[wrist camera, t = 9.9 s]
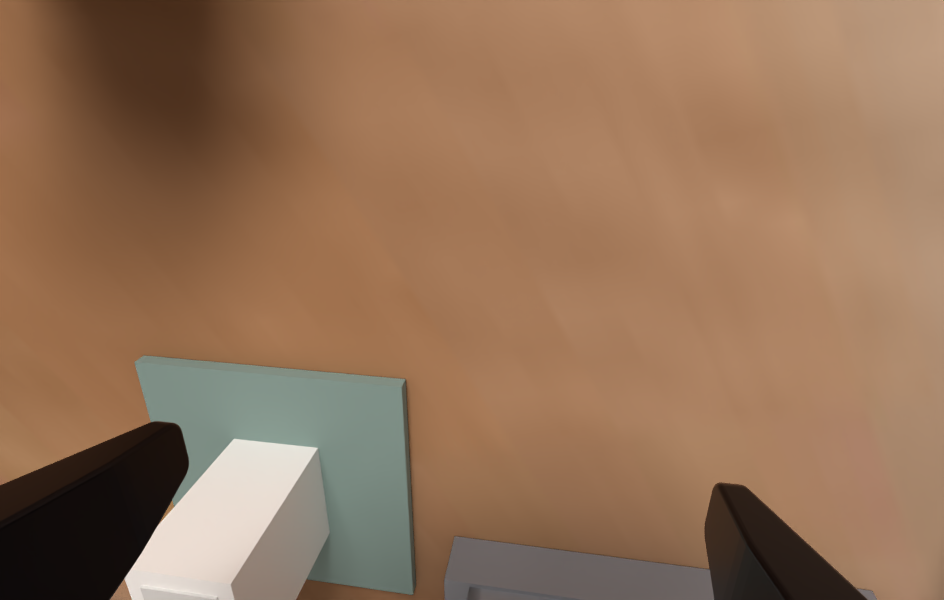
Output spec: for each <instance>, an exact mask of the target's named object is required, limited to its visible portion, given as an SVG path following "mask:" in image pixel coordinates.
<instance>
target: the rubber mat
mask: <svg viewBox="0 0 944 600" xmlns="http://www.w3.org/2000/svg"><path fill="white" fill-rule="evenodd" d="M135 366H136V370H137V373H138V377H139V380H140V384H141V388H142V391H143V395H144V399H145V402H146V406H147V409H148V413H149V417H150V420H151V422H154V421H162V422H171V423H176V424H178V425H179V426H180V428H181V430H182V433H183V437H184V441H185V445H186V449H187V453H188V457H189V468H188V472H187V474H186V476H185V478H184V480H183V482H182V483H181V485H180V487H179V489H178V490H177V492H176V494H175V496H174V498H173V499H172V500H173V504H174V507H175V506H176V505H177V503H178V502H179V501H180V500H181V499H182V498H183V497H184V495H185V494H186V493H187V492H188V491H189V490H190V489H191V487H192V486H193V485H194V484H195V483H196V482H197V481H198V479H199V478H200V477H201V476H202V475H203V474H204V472H205V471H206V470H207V469H208V468H209V467H210V466H211V464H212V463H213V462H214V461H215V460H216V459H217V458H218V456H219V455H220V454H221V453H222V452H223V451H224V450H225V448H226V447H227V446H228V445H229V444H230V443H231V442H232V440H233V439H241V440H250V441H259V442H269V443H278V444H287V445H296V446H306V447H315V448H318V451H319V459H320V466H321V473H322V480H323V488H324V495H325V502H326V509H327V517H328V524H329V531H330V533H329V535H328V537H327V539H326V541H325V543H324V545H323V547H322V549H321V551H320V553H319V555H318V557H317V559H316V561H315V563H314V565H313V567H312V569H311V571H310V573H309V575H308V577H307V579H308V580H315V581H321V582H328V583H335V584H342V585H348V586H355V587H362V588H369V589H376V590H382V591H389V592H396V593H403V594H409V595H413V593H414V590H415V587H416V573H415V554H414V534H413V515H412V495H411V475H410V456H409V436H408V417H407V397H406V379H397V378H386V377H375V376H364V375H353V374H342V373H331V372H320V371H309V370H298V369H287V368H276V367H265V366H254V365H243V364H232V363H221V362H210V361H199V360H188V359H177V358H166V357H155V356H143V357H141V358H140V359H138V360H137V361H135Z"/></svg>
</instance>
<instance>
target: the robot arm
mask: <svg viewBox="0 0 944 600" xmlns="http://www.w3.org/2000/svg"><path fill="white" fill-rule="evenodd" d="M188 468H189V457H188V453H187V449H186V445H185V441H184V437H183V433H182V430H181V428H180V426H179V425H178V424H176V423H171V422H162V421H154V422H151V423H148V424H146V425H143V426H141V427H139V428H136V429H134V430H131V431H129V432H127V433H124V434H122V435H119V436H117V437H115V438H112V439H110V440H108V441H105V442H103V443H100V444H98V445H96V446H93V447H91V448H88V449H86V450H84V451H81V452H79V453H76V454H74V455H72V456H69V457H67V458H64V459H62V460H60V461H57V462H55V463H53V464H50V465H48V466H45V467H43V468H41V469H38V470H36V471H33V472H31V473H29V474H26V475H24V476H21V477H19V478H17V479H14V480H12V481H10V482H7V483H5V484H2V485H0V600H110V599H111V597H112V596H113V594H114V593H115V591H116V590H117V589H118V587H119V586H120V584H121V583H122V581H123V580H124V578H125V577H126V576H127V574H128V573H129V571H130V570H131V568H132V567H133V565H134V564H135V562H136V561H137V559H138V558H139V556H140V555H141V553H142V552H143V550H144V548H145V547H146V545H147V543H148V542H149V540H150V538H151V536H152V535H153V533H154V531H155V529H156V528H157V526H158V524H159V522H160V521H161V519H162V517H163V515H164V513H165V512H166V510H167V508H168V506H169V505H170V503H171V501H172V499H173V498H174V496H175V494H176V492H177V490H178V489H179V487H180V485H181V483H182V482H183V480H184V478H185V476H186V474H187V472H188ZM705 542H706V549H707V555H708V562H709V568H710V575H711V582H712V588H713V595H714V600H868V599H867V598H866V597H865V596H864V595H863V594H861V593H860V592H859V591H858V590H857V589H856V588H855V587H854V586H853V585H852V584H851V583H850V582H848V581H847V580H846V579H845V578H844V577H843V576H842V575H841V574H840V573H839V572H838V571H837V570H836V569H834V568H833V567H832V566H831V565H830V564H829V563H828V562H827V561H826V560H825V559H824V558H823V557H822V556H820V555H819V554H818V553H817V552H816V551H815V550H814V549H813V548H812V547H811V546H810V545H809V544H807V543H806V542H805V541H804V540H803V539H802V538H801V537H800V536H799V535H798V534H797V533H796V532H795V531H793V530H792V529H791V528H790V527H789V526H788V525H787V524H786V523H785V522H784V521H783V520H782V519H780V518H779V517H778V516H777V515H776V514H775V513H774V512H773V511H772V510H771V509H770V508H769V507H768V506H766V505H765V504H764V503H763V502H762V501H761V500H760V499H759V498H758V497H757V496H756V495H755V494H753V493H752V492H751V491H750V490H749V489H748V488H747V487H745V486H743V485H739V484H730V483H717V484H715V486H714V488H713V491H712V495H711V499H710V503H709V508H708V512H707V516H706V521H705Z"/></svg>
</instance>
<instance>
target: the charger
mask: <svg viewBox="0 0 944 600" xmlns="http://www.w3.org/2000/svg"><path fill="white" fill-rule="evenodd" d="M329 533H330V531H329V524H328V517H327V509H326V502H325V495H324V488H323V480H322V473H321V466H320V459H319V451H318V448H315V447H306V446H296V445H287V444H278V443H269V442H259V441H250V440H241V439H233V440H232V442H231V443H230V444H229V445H228V446H227V447H226V448H225V450H224V451H223V452H222V453H221V454H220V455H219V456H218V458H217V459H216V460H215V461H214V462H213V463H212V464H211V466H210V467H209V468H208V469H207V470H206V471H205V472H204V474H203V475H202V476H201V477H200V478H199V479H198V481H197V482H196V483H195V484H194V485H193V486H192V487H191V489H190V490H189V491H188V492H187V493H186V494H185V495H184V497H183V498H182V499H181V500H180V501H179V502H178V503H177V505H176V506H175V507H174V508H173V509H172V510H171V511H170V513H169V514H168V515H167V516H166V517H165V518H164V519H163V521H162V522H161V523H160V524H159V525H158V526H157V528H156V529H155V531H154V533H153V535H152V536H151V538H150V540H149V542H148V543H147V545H146V547H145V548H144V550H143V552H142V553H141V555H140V556H139V558H138V559H137V561H136V562H135V564H134V565H133V567H132V568H131V570H130V571H129V573H128V574H127V576H126V577H125V581H126V584H127V587H128V589H129V592H130V595H131V598H132V600H296V599H297V597H298V595H299V593H300V591H301V589H302V587H303V585H304V583H305V581H306V579H307V577H308V575H309V573H310V571H311V569H312V567H313V565H314V563H315V561H316V559H317V557H318V555H319V553H320V551H321V549H322V547H323V545H324V543H325V541H326V539H327V537H328V535H329Z"/></svg>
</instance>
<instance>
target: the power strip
mask: <svg viewBox="0 0 944 600" xmlns="http://www.w3.org/2000/svg"><path fill="white" fill-rule="evenodd" d="M444 587H445V600H714V595H713V588H712V582H711V575H710V570H709V569H701V568H694V567H686V566H678V565H671V564H663V563H656V562H648V561H640V560H633V559H625V558H617V557H610V556H602V555H594V554H587V553H579V552H571V551H564V550H556V549H548V548H541V547H533V546H525V545H518V544H510V543H502V542H495V541H487V540H480V539H472V538H464V537H457V536H455V537H454V541H453V545H452V550H451V554H450V558H449V562H448V566H447V571H446V575H445V579H444ZM857 590H858V591H859V592H860V593H861V594H863V595H864V596H865V597H866V598H867V599H868V600H877V598H876V597H875V595H874V593H873V591H870V590H862V589H857Z"/></svg>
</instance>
